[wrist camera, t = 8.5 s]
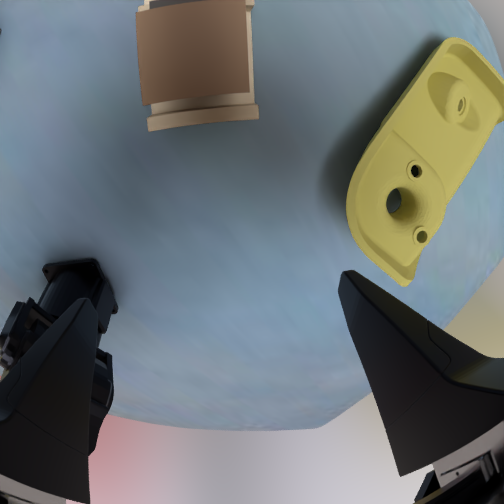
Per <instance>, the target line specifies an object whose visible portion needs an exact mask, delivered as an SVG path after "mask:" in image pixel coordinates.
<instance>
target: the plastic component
mask: <svg viewBox="0 0 504 504" xmlns="http://www.w3.org/2000/svg"><path fill="white" fill-rule="evenodd" d="M502 121H504V79H503V78H502V77H501V76H500V75H499V73H498V72H497V71H496V70H495V69H494V68H493V66H492V65H491V64H490V63H489V62H488V61H487V60H486V59H485V58H484V57H483V55H482V54H481V53H480V52H479V51H478V50H477V49H476V48H475V47H474V46H472V45H471V44H470V43H468V42H467V41H465V40H463V39H460V38H456V37H451V38H448V39H446V40H445V41H443V42H442V43H441V44H440V45H439V46H438V47H437V48H436V49H435V50H434V51H432V53H431V54H430V56H429V57H428V59H427V60H426V61H425V63H424V64H423V66H422V67H421V68H420V70H419V71H418V73H417V74H416V76H415V77H414V78H413V80H412V81H411V82H410V84H409V85H408V87H407V88H406V89H405V91H404V92H403V94H402V95H401V96H400V98H399V99H398V100H397V102H396V103H395V105H394V106H393V107H392V109H391V110H390V111H389V113H388V114H387V115H386V117H385V118H384V119H383V121H382V122H381V124H380V128H379V129H378V131H377V132H376V133H375V135H374V136H373V138H372V139H371V141H370V142H369V144H368V146H367V147H366V149H365V151H364V153H363V155H362V157H361V159H360V161H359V163H358V164H357V167H356V169H355V171H354V173H353V175H352V178H351V181H350V184H349V188H348V192H347V198H346V215H347V221H348V224H349V228H350V231H351V233H352V236H353V238H354V240H355V242H356V243H357V245H358V246H359V248H360V249H361V250H362V251H363V253H364V254H365V255H366V256H367V257H368V258H369V259H370V260H371V261H373V262H374V263H375V264H376V265H377V266H378V267H380V268H381V269H382V270H383V271H384V272H386V273H387V274H388V275H389V276H390V277H391V278H392V279H394V280H395V281H396V282H397V283H398V284H399V285H401V286H403V287H406V286H408V285H409V283H410V282H411V281H412V280H413V278H414V276H415V271H416V267H417V263H418V260H419V257H420V254H421V252H422V249H423V248H424V247H425V246H426V245H427V244H428V243H429V242H430V239H431V238H432V237H433V235H434V234H435V233H436V231H437V230H438V229H439V227H440V225H441V223H442V221H443V218H444V215H445V211H446V205H447V204H448V202H449V201H450V200H451V198H452V197H453V195H454V194H455V192H456V191H457V189H458V188H459V186H460V185H461V183H462V182H463V180H464V178H465V177H466V175H467V174H468V172H469V171H470V169H471V167H472V166H473V164H474V162H475V161H476V159H477V157H478V156H479V154H480V152H481V150H482V149H483V147H484V145H485V143H486V141H487V140H488V138H489V136H490V134H491V132H492V130H493V128H494V126H495V125H496V124H498V123H500V122H502ZM413 165H416V166H417V167H418V169H419V174H418V176H417V177H414V176H413V175H412V174H411V167H412V166H413ZM395 188H397V189H398V190H399V192H400V194H401V198H402V200H401V205H400V207H399V208H398V210H396V211H395V212H393V213H388V211H387V208H386V200H387V197H388V195H389V193H390V192H391V191H392V190H393V189H395Z"/></svg>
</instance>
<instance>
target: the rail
mask: <svg viewBox="0 0 504 504" xmlns="http://www.w3.org/2000/svg"><path fill="white" fill-rule="evenodd" d="M149 1H154V0H144V5H142V6H138V12H140V11H144V10H149ZM245 2H246V22H247V42H248V63H249V85H250V93H233V94H220V95H210V96H201V97H193V98H185V99H179V100H172V101H166V102H160V103H155V104H151V108H152V115H151V116H149V117H148V118H147V124H148V131H149V132H150V131H156V130H162V129H168V128H174V127H181V126H188V125H196V124H205V123H214V122H225V121H238V120H254V119H259V107H258V105H257V104H255V103H254V79H253V54H252V31H251V10H252V8H253V6H254V0H245Z"/></svg>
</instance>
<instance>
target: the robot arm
mask: <svg viewBox="0 0 504 504" xmlns="http://www.w3.org/2000/svg"><path fill="white" fill-rule="evenodd" d="M91 264H93V265H94V266H93V265H91ZM42 271H43V273H44V275H45V277H46V279H47V281H48V284H47V286H46V288H45V290H44V291H43V293H42V295H41V297H40V299H39V301H38V303H37V304H36V303H35V302H34V300H33V299H32V298H31V297H29V299H28V300H27V302H26V303H25V302H18V301H17V302H16V304H15V306H14V308H13V309H12V311H11V313H10V315H9V317H8V319H7V321H6V323H5V325H4V327H3V330H2V332H1V334H0V349H1V350H0V355H1V356H0V366H2V367H3V368H4V371H3V374H2V377H1V380H0V504H66V499H69V500H72V501H76V502H80V503H85V504H90V491H89V471H88V470H89V469H88V456H89V455H90V454H91V453H92V452H93V451H94V450H95V447H96V442H97V438H98V433H99V430H100V427H101V425H102V422H103V420H104V418H105V416H106V415H107V413H108V411H109V410H110V407H111V405H112V401H113V396H114V385H113V368H112V355H111V354H109V353H107V352H104V351H102V350H101V349H99V348H98V347H99V343H100V339H101V335H102V334H105V333H106V331H107V328H108V324H109V320H110V317H111V314H116V313H117V312H118V306H117V304H116V302H115V298H114V296H113V294H112V292H111V290H110V287H109V285H108V283H107V281H106V280H105V278H104V276H103V274H102V272H101V269H100V267H99V264H98V262H97V261H96V260H94V259H86V260H78V261H70V262H62V263H54V264H47V265H44V267H43V269H42ZM338 294H339V298H340V301H341V305H342V308H343V311H344V315H345V319H346V322H347V326H348V329H349V332H350V335H351V337H352V340H353V342H354V345H355V347H356V350H357V352H358V355H359V357H360V360H361V363H362V365H363V368H364V370H365V373H366V376H367V378H368V381H369V384H370V387H371V389H372V392H373V395H374V398H375V400H376V403H377V406H378V409H379V412H380V415H381V418H382V420H383V423H384V427H385V429H386V433H387V436H388V439H389V443H390V445H391V449H392V452H393V455H394V459H395V462H396V466H397V469H398V472H399V475H400V477H401V476H404V475H406V474H409V473H411V472H414V471H416V470H418V469H421V468H423V467H425V466H427V465H429V464H433V467H434V470H432V471H431V472H429V473H427V474H426V477H425V479H424V481H423V483H422V485H421V487H420V490H419V491H418V494H417V496H416V498H415V499H414V501H415V503H413V504H504V358H491V357H487V356H485V355H483V354H481V353H479V352H477V351H476V350H474V349H473V348H471V347H469V346H468V345H466V344H464V343H462V342H461V341H459V340H458V339H456V338H454V337H453V336H451V335H449V334H448V333H446V332H445V331H443V330H442V329H440V328H439V327H437V326H436V325H435V324H433V323H432V322H430V321H429V320H427V319H426V318H424V317H423V316H422V315H420V314H419V313H417V312H416V311H414V310H413V309H412V308H410V307H409V306H407V305H406V304H404V303H403V302H401V301H400V300H398V299H397V298H395V297H394V296H392V295H391V294H389V293H388V292H386V291H385V290H383V289H382V288H380V287H379V286H377V285H376V284H374V283H373V282H371V281H370V280H368V279H367V278H365V277H364V276H362V275H361V274H359V273H358V272H356V271H354V270H348V271H343V272H342V274H341V278H340V283H339V287H338Z"/></svg>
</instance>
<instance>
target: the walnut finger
mask: <svg viewBox="0 0 504 504" xmlns="http://www.w3.org/2000/svg"><path fill="white" fill-rule="evenodd" d="M136 32H137V50H138V63H139V75H140V85H141V94H142V103H143V106H145V105H150V104H155V103H160V102H166V101H172V100H179V99H185V98H193V97H201V96H210V95H220V94H233V93H250V85H249V63H248V42H247V22H246V2H245V0H154V1H149V10H144V11H140V12H136Z"/></svg>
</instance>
